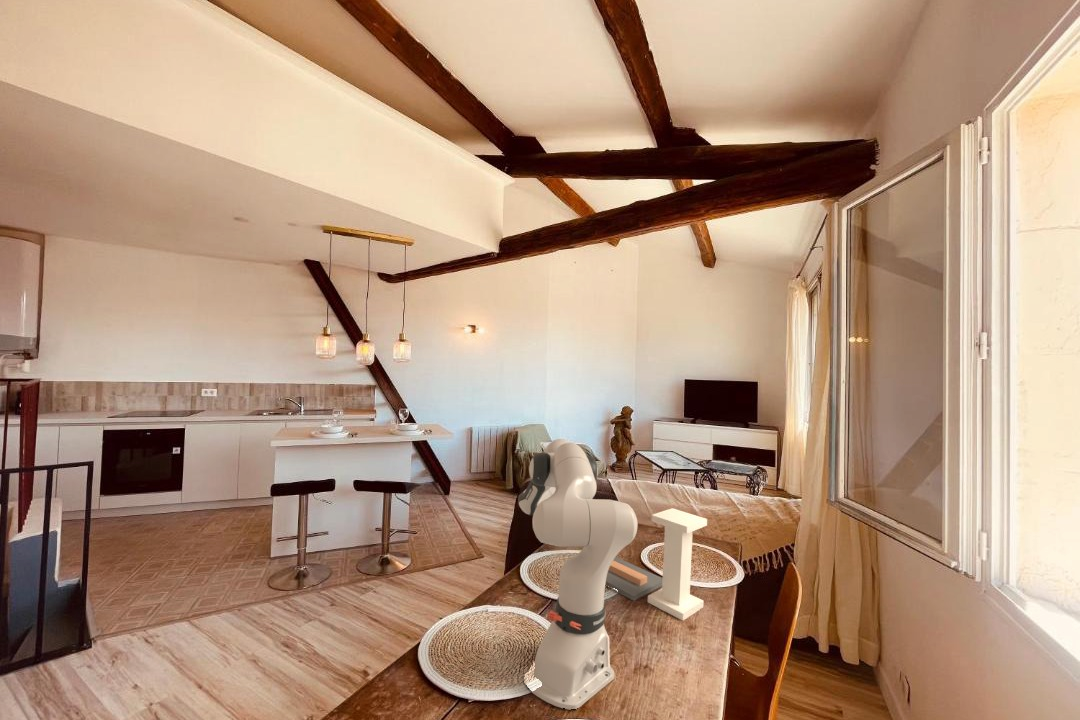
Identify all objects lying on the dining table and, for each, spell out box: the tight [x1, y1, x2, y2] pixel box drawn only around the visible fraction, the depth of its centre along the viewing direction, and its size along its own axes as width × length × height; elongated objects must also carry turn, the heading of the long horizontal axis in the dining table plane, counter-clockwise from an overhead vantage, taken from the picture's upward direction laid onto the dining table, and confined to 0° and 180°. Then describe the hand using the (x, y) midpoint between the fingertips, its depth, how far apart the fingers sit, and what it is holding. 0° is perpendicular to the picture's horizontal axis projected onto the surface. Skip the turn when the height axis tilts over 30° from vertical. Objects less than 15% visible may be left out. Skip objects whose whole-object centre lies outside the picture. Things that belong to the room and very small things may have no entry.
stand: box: [647, 507, 708, 621], centre depth 131 cm, size 12×12×27 cm
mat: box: [605, 556, 663, 602], centre depth 148 cm, size 26×18×2 cm
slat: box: [609, 561, 647, 586], centre depth 149 cm, size 24×4×2 cm, turn 42°
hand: (592, 523), depth 158 cm, fingers open, 8 cm apart
